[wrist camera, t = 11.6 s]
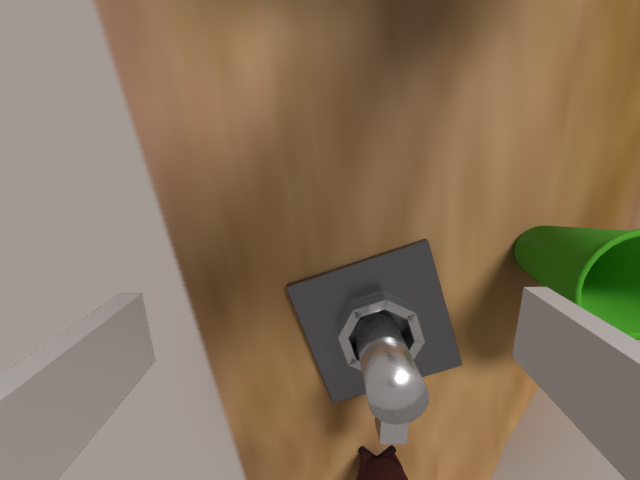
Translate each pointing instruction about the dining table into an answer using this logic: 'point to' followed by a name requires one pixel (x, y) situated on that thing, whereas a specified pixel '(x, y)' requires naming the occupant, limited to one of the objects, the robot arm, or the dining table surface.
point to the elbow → (389, 378)
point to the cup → (587, 269)
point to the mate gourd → (380, 465)
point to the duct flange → (375, 298)
